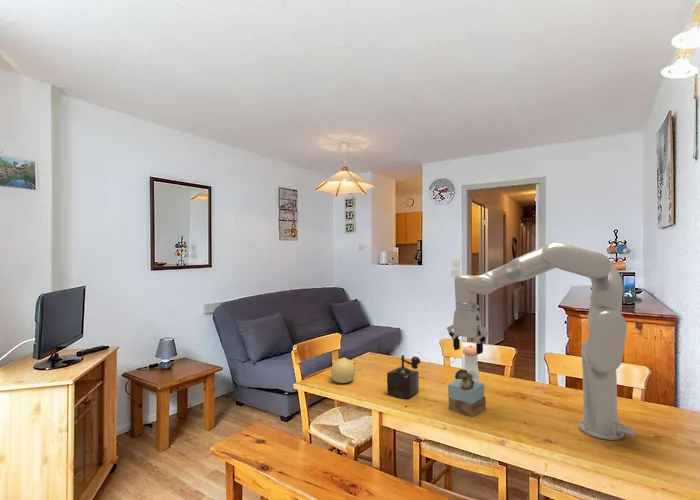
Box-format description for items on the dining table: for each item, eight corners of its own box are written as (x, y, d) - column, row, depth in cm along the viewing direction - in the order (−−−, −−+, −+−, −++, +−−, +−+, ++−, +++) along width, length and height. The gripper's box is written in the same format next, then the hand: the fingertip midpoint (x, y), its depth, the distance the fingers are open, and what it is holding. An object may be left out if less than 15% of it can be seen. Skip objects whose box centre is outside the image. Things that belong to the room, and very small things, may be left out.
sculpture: (356, 377, 187) (356, 355, 187) (353, 385, 175) (352, 362, 175) (333, 376, 188) (333, 354, 188) (329, 385, 176) (328, 361, 177)
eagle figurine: (453, 377, 151) (449, 380, 143) (463, 363, 151) (460, 365, 142) (470, 390, 148) (467, 394, 140) (480, 375, 147) (478, 378, 139)
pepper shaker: (459, 388, 169) (459, 345, 169) (468, 384, 174) (467, 342, 174) (474, 392, 164) (473, 348, 164) (483, 388, 168) (482, 345, 169)
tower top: (484, 396, 147) (484, 383, 147) (472, 404, 140) (472, 390, 140) (460, 390, 154) (460, 378, 154) (448, 397, 147) (448, 384, 147)
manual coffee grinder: (385, 395, 163) (384, 353, 163) (398, 387, 172) (397, 347, 172) (418, 403, 153) (417, 358, 154) (430, 394, 162) (429, 352, 162)
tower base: (485, 410, 146) (485, 397, 146) (472, 418, 140) (472, 404, 140) (462, 402, 154) (462, 390, 154) (448, 410, 147) (448, 397, 147)
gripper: (491, 307, 142) (494, 353, 142) (451, 304, 155) (453, 346, 155) (481, 309, 137) (484, 357, 137) (441, 306, 150) (443, 350, 150)
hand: (468, 351), depth 146 cm, fingers open, 9 cm apart
